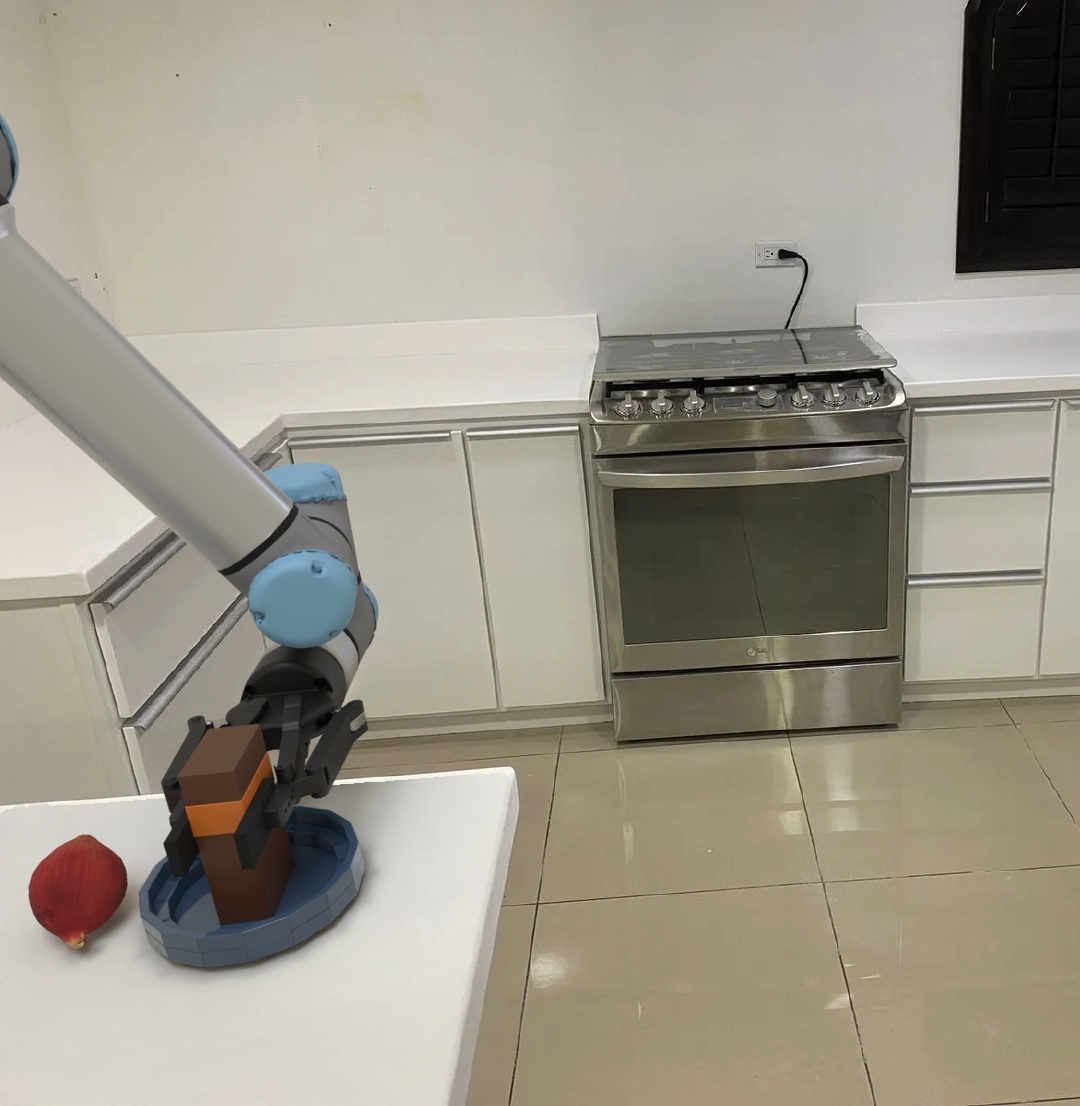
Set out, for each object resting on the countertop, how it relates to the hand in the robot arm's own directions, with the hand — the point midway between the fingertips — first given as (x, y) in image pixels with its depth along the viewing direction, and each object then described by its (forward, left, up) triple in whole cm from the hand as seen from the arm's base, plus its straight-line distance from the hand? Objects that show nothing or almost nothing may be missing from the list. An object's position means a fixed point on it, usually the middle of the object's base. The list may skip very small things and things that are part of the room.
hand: (209, 855), depth 69 cm
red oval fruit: (-12, +8, -3) cm, 15 cm away
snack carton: (0, +5, -7) cm, 9 cm away
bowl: (0, +5, -8) cm, 10 cm away
